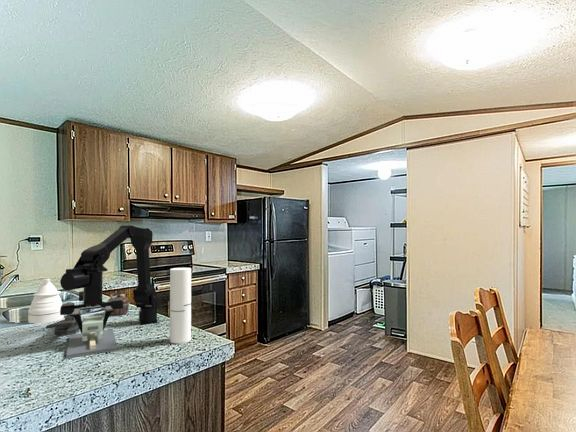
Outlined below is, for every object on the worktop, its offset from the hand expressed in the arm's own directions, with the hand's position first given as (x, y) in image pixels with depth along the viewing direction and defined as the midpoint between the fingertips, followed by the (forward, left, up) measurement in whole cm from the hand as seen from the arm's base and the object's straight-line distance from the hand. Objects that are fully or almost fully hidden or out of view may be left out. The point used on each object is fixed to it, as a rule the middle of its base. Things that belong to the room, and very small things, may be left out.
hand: (92, 331), depth 120 cm
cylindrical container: (-27, +12, -4) cm, 30 cm away
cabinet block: (0, 0, -2) cm, 2 cm away
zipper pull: (+9, -18, -4) cm, 21 cm away
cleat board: (0, 0, -4) cm, 4 cm away
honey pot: (+17, -48, -4) cm, 51 cm away
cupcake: (-11, -43, -4) cm, 44 cm away
